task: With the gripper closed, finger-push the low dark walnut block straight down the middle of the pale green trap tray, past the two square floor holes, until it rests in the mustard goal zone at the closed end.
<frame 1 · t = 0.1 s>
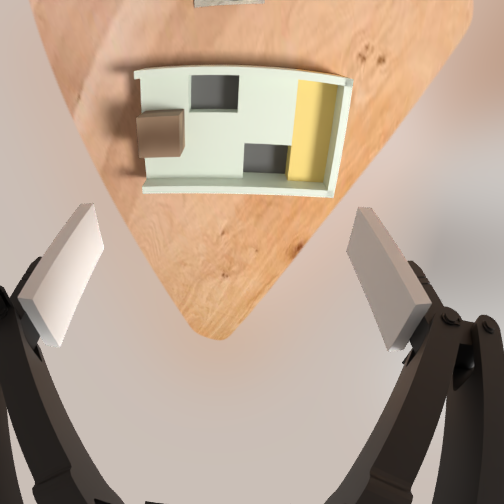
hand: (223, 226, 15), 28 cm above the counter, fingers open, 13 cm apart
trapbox: (240, 123, 38), on the counter
block: (165, 128, 35), point 2 cm above the counter, touching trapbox
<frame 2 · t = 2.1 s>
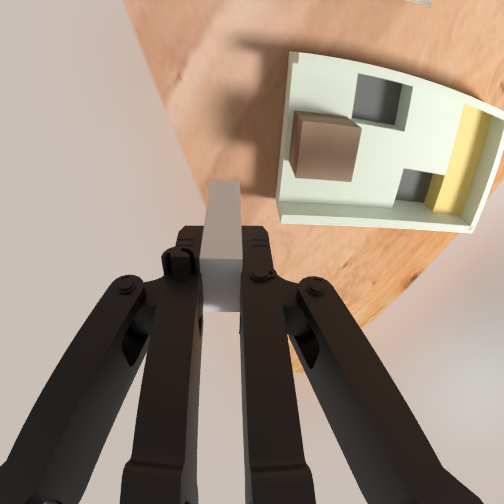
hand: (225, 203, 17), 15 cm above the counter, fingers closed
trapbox: (393, 142, 30), on the counter
block: (317, 138, 27), point 2 cm above the counter, touching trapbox
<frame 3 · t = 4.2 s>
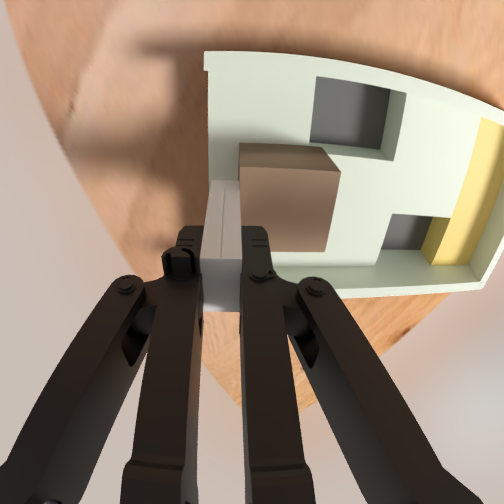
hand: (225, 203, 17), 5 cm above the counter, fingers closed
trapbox: (379, 174, 22), on the counter
block: (277, 181, 19), point 3 cm above the counter, touching gripper, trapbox
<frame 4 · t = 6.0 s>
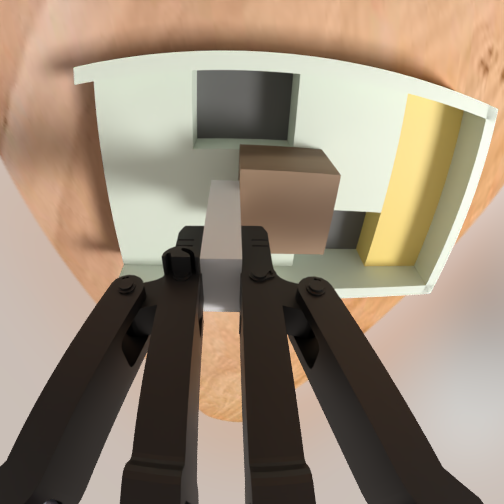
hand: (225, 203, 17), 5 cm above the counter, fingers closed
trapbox: (291, 166, 21), on the counter
block: (277, 183, 19), point 3 cm above the counter, touching gripper
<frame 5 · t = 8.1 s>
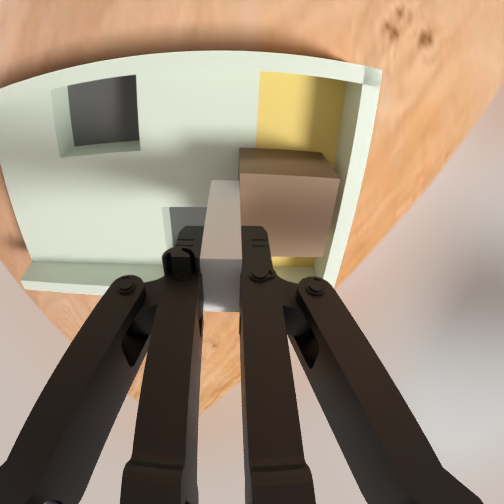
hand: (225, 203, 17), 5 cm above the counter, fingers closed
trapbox: (159, 165, 21), on the counter
block: (277, 186, 19), point 2 cm above the counter, touching gripper, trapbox
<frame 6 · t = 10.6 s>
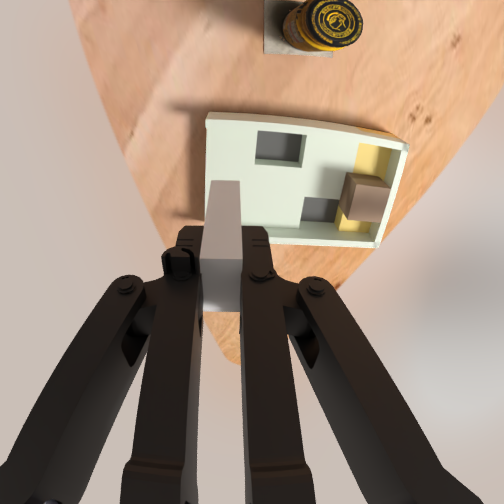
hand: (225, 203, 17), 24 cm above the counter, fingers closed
condiment: (298, 28, 29), on the counter
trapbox: (299, 175, 41), on the counter
block: (358, 190, 40), point 2 cm above the counter, touching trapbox
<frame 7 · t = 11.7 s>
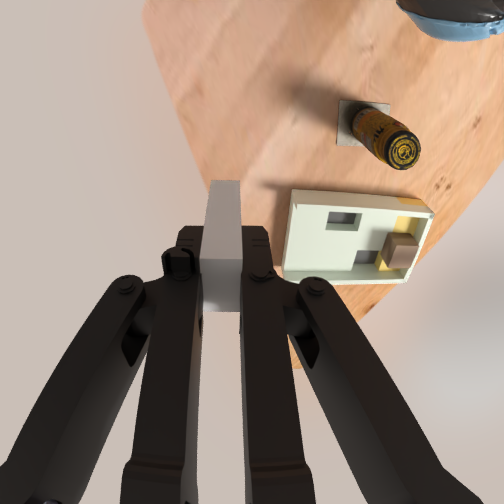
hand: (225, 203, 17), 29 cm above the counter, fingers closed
condiment: (363, 123, 42), on the counter
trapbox: (353, 233, 54), on the counter
block: (395, 243, 53), point 2 cm above the counter, touching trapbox
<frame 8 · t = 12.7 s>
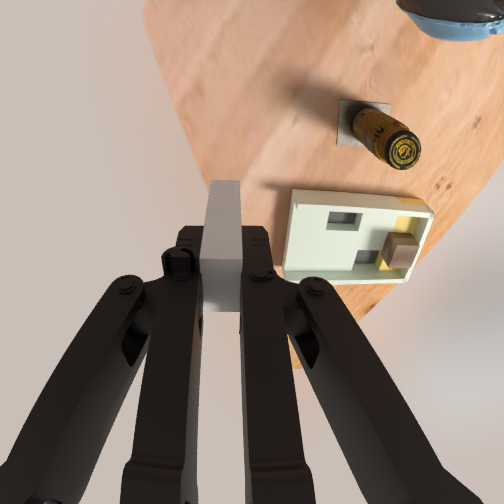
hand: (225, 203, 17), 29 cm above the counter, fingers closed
condiment: (363, 123, 42), on the counter
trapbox: (353, 232, 54), on the counter
block: (395, 243, 53), point 2 cm above the counter, touching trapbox
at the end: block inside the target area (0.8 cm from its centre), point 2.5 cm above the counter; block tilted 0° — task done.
